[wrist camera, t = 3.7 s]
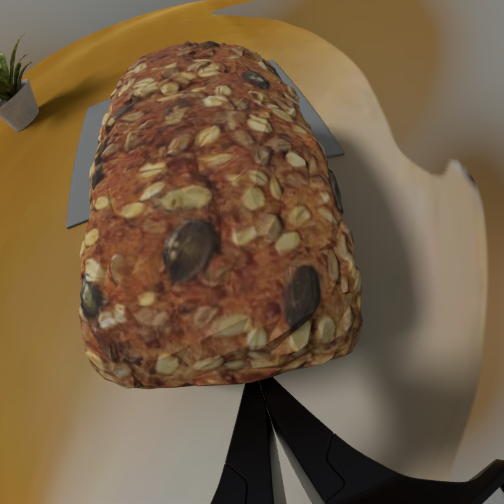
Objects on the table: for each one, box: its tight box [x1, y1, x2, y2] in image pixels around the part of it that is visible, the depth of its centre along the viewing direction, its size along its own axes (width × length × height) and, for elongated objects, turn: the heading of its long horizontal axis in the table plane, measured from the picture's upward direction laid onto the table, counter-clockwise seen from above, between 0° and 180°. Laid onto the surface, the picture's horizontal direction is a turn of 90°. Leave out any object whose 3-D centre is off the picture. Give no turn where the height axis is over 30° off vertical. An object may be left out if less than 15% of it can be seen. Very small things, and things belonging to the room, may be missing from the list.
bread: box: [79, 41, 363, 389], centre depth 13 cm, size 19×11×10 cm, turn 9°
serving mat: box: [66, 60, 344, 229], centre depth 23 cm, size 18×24×1 cm
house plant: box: [0, 39, 39, 132], centre depth 19 cm, size 14×14×16 cm
